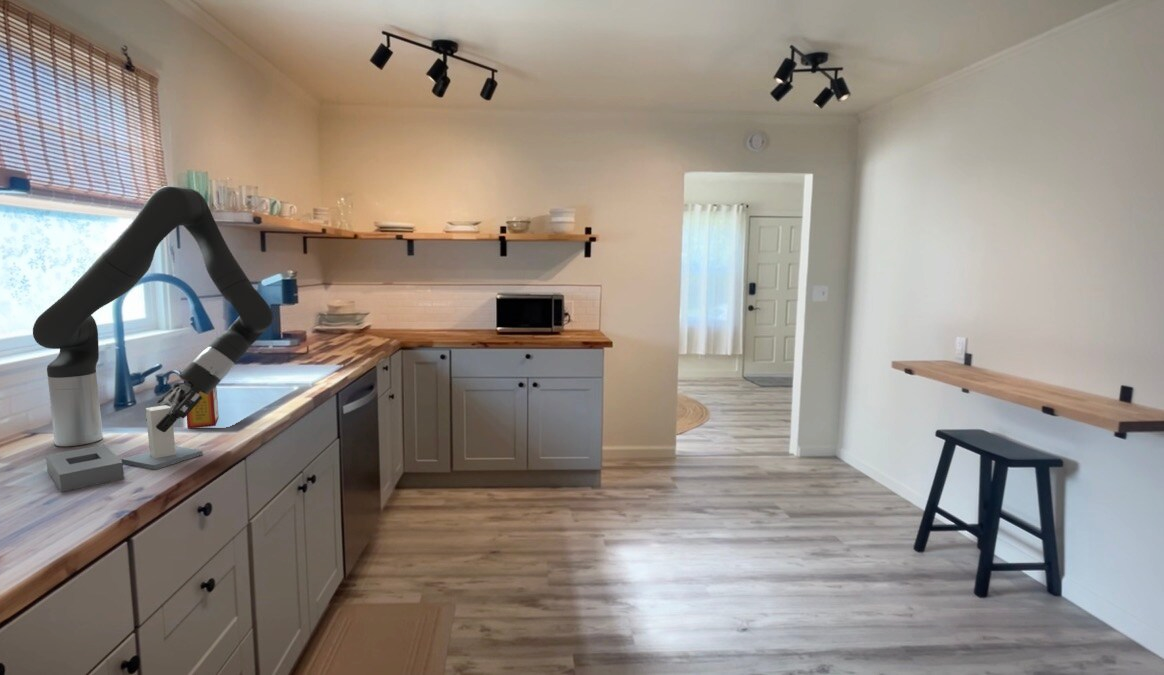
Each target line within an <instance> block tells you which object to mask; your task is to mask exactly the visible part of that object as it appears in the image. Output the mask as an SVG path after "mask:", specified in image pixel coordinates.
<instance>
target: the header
mask: <svg viewBox="0 0 1164 675" xmlns="http://www.w3.org/2000/svg"><path fill="white" fill-rule="evenodd" d="M45 458H46V460H45V461H46V467H47V468H46V470H47V472H48V474H49V475H50V477H51V478H52V480H53V482H54V483H55V485H56V486H57V488H58V489H59V491H60V493H62V492H68V491H72V490H76V489H81V488H87V487H91V486H95V485H99V484H105V483H110V482H115V481H118V480H123V479H125V475H124V473H125V472H124V464H123V462H122V460H121V458H119V457H117V455H116V454H115V453H114V452H112V451H111V450H110V449H109V448H108V447H107V445H105V444H100V445H94V446H90V447H84V448H79V449H78V448H77V449H73V450H72V449H71V450H65V451H61V452H55V453H51V454H46V455H45Z"/></svg>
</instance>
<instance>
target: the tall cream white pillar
mask: <svg viewBox="0 0 1164 675" xmlns="http://www.w3.org/2000/svg"><path fill="white" fill-rule="evenodd" d="M170 410H171V407H169V406H167V405H163V406H150V407H146V408H145V415H146V419H147V421H146V426H147V437H148V438H147V439H148V449H149V450H148V451H150V455H151V456H152V457H153V458H155V459H156V458H161V457H165V456H170V455H175V454H176V453H175V446H176V443H175V431H174V423H173V424H172V426H171V427H170V428H169V429H168V430H167V431H166V432H162V431H160V430H159V429H157V428H156V425H157V424H158V423H159V422H160V421H161V420H162V419H163V418H164V417H165V416H166V415H167V414H169V411H170ZM169 415H170V414H169Z"/></svg>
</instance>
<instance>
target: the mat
mask: <svg viewBox="0 0 1164 675" xmlns="http://www.w3.org/2000/svg"><path fill="white" fill-rule="evenodd" d="M175 453H176V454H175V455H170V456H165V457H161V458H156V459H155V458H153V457H152V456H151V455H150V450H148V451H146V452H142V453H138V454H137V453H136V454H134V455H130V456H127V457H124V458H120V460H121V461H122V462H123V465H129V466H134V467H139V468H144V469H149V470H153V469H155V470H158V469H160V467H161V468H164V467H167V466H166V465H168V466H170V464H171V465H173V464H177V463H180V461H181V462H184V461H186V460H189V459H193V457H194V458H196V456H197V457H200V456H203V449H202V450H200V449H196V448H190V447H189V448H188V447H182V446H177V445H175ZM199 455H200V456H199ZM183 460H184V461H183ZM163 466H164V467H163ZM157 468H158V469H157Z"/></svg>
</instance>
